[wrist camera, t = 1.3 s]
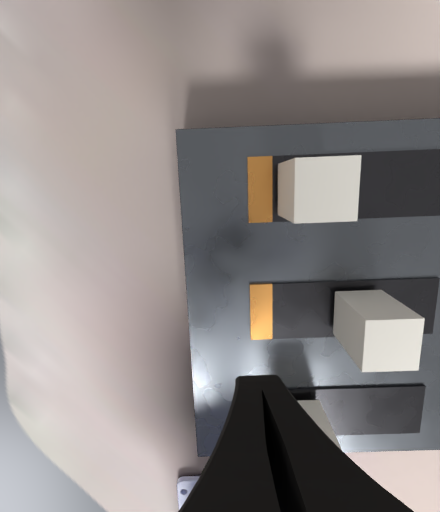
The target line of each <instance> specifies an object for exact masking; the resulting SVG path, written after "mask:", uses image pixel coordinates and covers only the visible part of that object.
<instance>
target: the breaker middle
mask: <svg viewBox="0 0 440 512" xmlns="http://www.w3.org/2000/svg"><path fill="white" fill-rule="evenodd" d="M424 321H425V318H423V317H422V316H420V315H419V314H417V313H416V312H414V311H413V310H411V309H410V308H408V307H407V306H405V305H404V304H402V303H401V302H399V301H398V300H396V299H395V298H393V297H392V296H390V295H389V294H387V293H386V292H384V291H383V290H361V291H335V303H334V324H333V334H334V336H335V337H336V338H337V340H338V341H339V342H340V344H341V345H342V346H343V348H344V349H345V350H346V352H347V353H348V354H349V356H350V357H351V358H352V360H353V361H354V362H355V364H356V365H357V366H358V368H359V369H360V370H361V372H389V371H418V370H419V362H420V354H421V346H422V337H423V329H424Z"/></svg>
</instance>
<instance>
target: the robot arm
mask: <svg viewBox="0 0 440 512" xmlns="http://www.w3.org/2000/svg"><path fill="white" fill-rule="evenodd" d="M184 489H185V490H184ZM177 494H178V506H179V511H178V512H414V511H412V510H411V509H410V508H408V507H407V506H406V505H405V504H403V503H402V502H401V501H400V500H398V499H397V498H396V497H394V496H393V495H392V494H391V493H389V492H388V491H387V490H385V489H384V488H383V487H382V486H380V485H379V484H378V483H377V482H376V481H374V480H373V479H372V478H371V477H370V476H369V475H367V474H366V473H365V472H364V471H363V470H362V469H361V468H360V467H359V466H358V465H356V464H355V463H354V462H353V461H352V460H351V459H350V458H349V457H348V456H347V455H346V454H345V453H344V452H343V451H342V450H341V449H340V448H339V447H338V446H337V445H336V444H335V443H334V442H333V441H332V440H331V439H330V438H329V437H328V436H327V435H326V434H325V433H324V432H323V431H322V429H321V428H320V427H319V426H318V425H317V424H316V423H315V422H314V420H313V419H312V418H311V417H310V416H309V415H308V413H307V412H306V411H305V410H304V409H303V408H302V406H301V405H300V404H299V403H298V401H297V400H296V399H295V398H294V396H293V395H292V394H291V392H290V391H289V390H288V388H287V387H286V386H285V384H284V383H283V381H282V380H281V378H280V377H279V376H278V375H248V376H238V377H237V378H236V379H235V390H234V395H233V399H232V403H231V406H230V409H229V412H228V415H227V418H226V421H225V424H224V426H223V429H222V431H221V433H220V436H219V438H218V441H217V443H216V445H215V447H214V450H213V452H212V454H211V456H210V458H209V460H208V462H207V464H206V466H205V468H204V469H203V471H202V473H201V475H200V476H183V477H180V478H179V479H178V481H177Z"/></svg>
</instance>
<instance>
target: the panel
mask: <svg viewBox="0 0 440 512" xmlns="http://www.w3.org/2000/svg"><path fill="white" fill-rule="evenodd" d="M176 142H177V157H178V172H179V186H180V201H181V216H182V231H183V245H184V260H185V275H186V290H187V304H188V319H189V334H190V349H191V363H192V378H193V393H194V408H195V422H196V437H197V452H198V457H203V456H211V454H212V452H213V450H214V447H215V445H216V443H217V441H218V438H219V436H220V433H221V431H222V429H223V426H224V424H225V421H226V418H227V415H228V412H229V409H230V406H231V403H232V399H233V395H234V390H235V379H236V378H237V377H238V376H248V375H278V376H279V377H280V378H281V380H282V381H283V383H284V384H285V386H286V387H287V388H288V390H289V391H290V392H291V394H292V395H293V396H294V398H295V399H296V400H297V401H298V400H320V403H321V405H322V407H323V409H324V411H325V414H326V416H327V418H328V420H329V422H330V425H331V427H332V429H333V431H334V434H335V436H336V438H337V440H338V442H339V445H340V447H341V449H342V451H343V452H377V451H412V450H440V118H434V119H410V120H387V121H364V122H340V123H317V124H294V125H271V126H247V127H224V128H201V129H177V130H176ZM351 155H361V171H360V187H359V203H358V219H357V221H350V222H324V223H299V224H294V223H292V222H290V221H288V220H286V219H285V218H283V217H281V216H279V215H278V164H279V163H282V162H285V161H287V160H290V159H293V158H302V157H326V156H351ZM361 290H383V291H384V292H386V293H387V294H389V295H390V296H392V297H393V298H395V299H396V300H398V301H399V302H401V303H402V304H404V305H405V306H407V307H408V308H410V309H411V310H413V311H414V312H416V313H417V314H419V315H420V316H422V317H423V318H425V321H424V329H423V337H422V346H421V354H420V362H419V370H418V371H389V372H361V370H360V369H359V368H358V366H357V365H356V364H355V362H354V361H353V360H352V358H351V357H350V356H349V354H348V353H347V352H346V350H345V349H344V348H343V346H342V345H341V344H340V342H339V341H338V340H337V338H336V337H335V336H334V334H333V324H334V303H335V291H361Z"/></svg>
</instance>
